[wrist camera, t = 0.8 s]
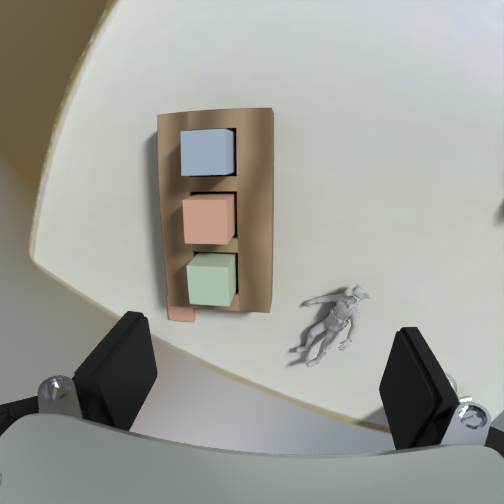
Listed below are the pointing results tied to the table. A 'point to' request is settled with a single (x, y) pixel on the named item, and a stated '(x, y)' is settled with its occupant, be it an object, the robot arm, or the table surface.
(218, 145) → the light blue block
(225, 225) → the salmon pink rectangular block
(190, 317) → the tile
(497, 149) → the table surface
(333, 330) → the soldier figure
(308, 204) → the table surface
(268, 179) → the board
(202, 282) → the mint green block
